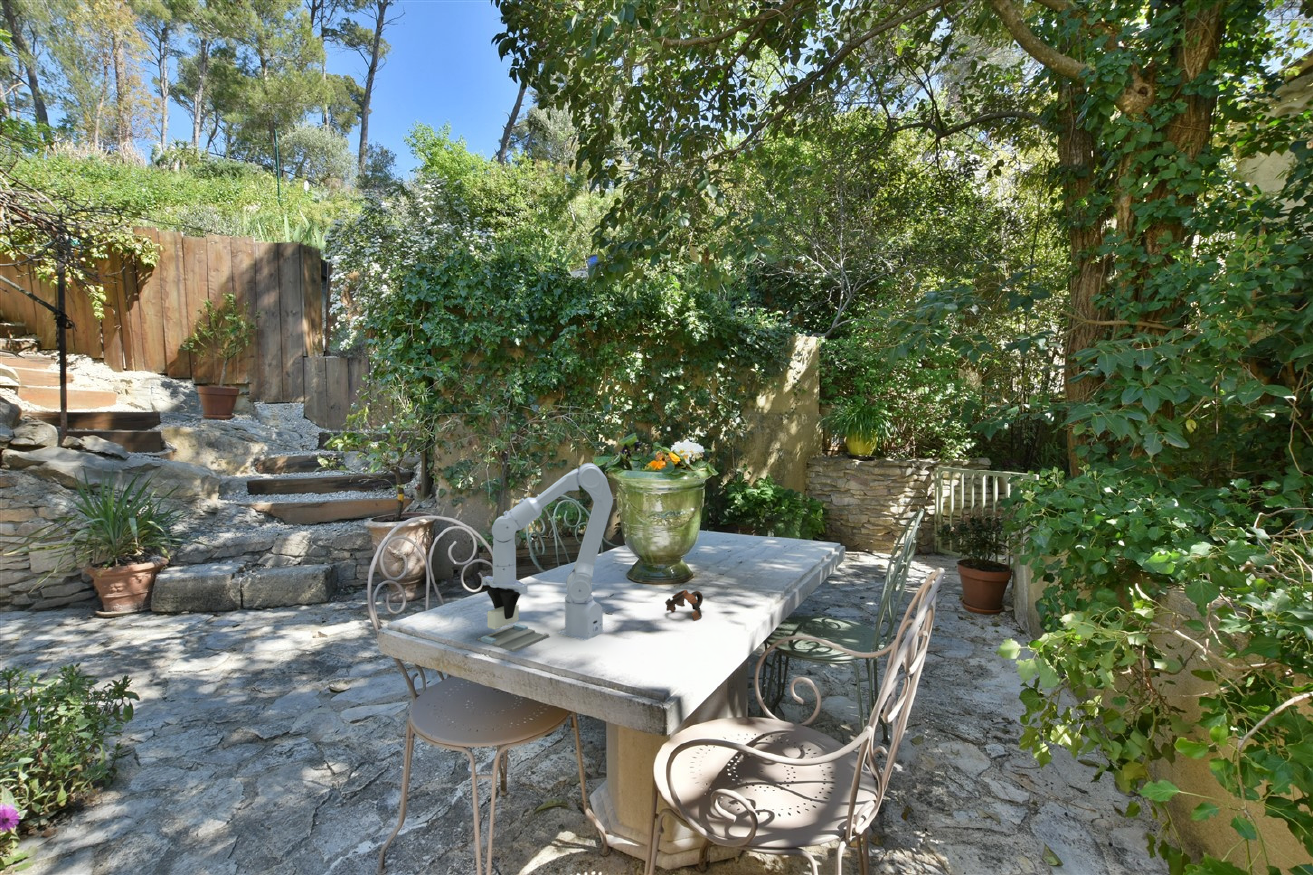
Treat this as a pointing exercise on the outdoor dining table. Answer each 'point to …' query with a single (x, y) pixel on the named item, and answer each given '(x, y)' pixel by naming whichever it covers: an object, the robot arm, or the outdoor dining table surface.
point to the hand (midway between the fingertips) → (504, 616)
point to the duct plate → (513, 638)
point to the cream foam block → (501, 617)
